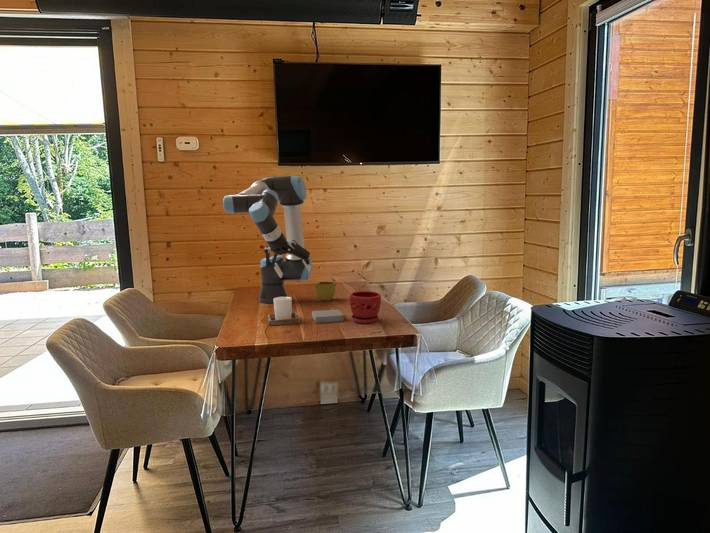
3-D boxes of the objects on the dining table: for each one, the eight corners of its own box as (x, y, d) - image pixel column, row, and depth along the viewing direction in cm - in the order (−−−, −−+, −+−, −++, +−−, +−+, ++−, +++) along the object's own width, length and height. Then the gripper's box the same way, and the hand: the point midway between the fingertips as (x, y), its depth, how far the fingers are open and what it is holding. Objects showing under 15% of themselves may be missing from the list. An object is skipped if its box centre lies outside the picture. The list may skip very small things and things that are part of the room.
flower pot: (315, 301, 249) (315, 284, 248) (320, 297, 257) (320, 281, 256) (331, 301, 247) (331, 284, 246) (336, 298, 255) (336, 281, 254)
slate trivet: (312, 316, 215) (312, 311, 214) (338, 314, 217) (338, 309, 217) (315, 323, 203) (315, 317, 203) (343, 321, 206) (343, 315, 205)
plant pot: (348, 324, 199) (347, 296, 197) (352, 317, 212) (352, 290, 210) (379, 325, 197) (379, 296, 196) (382, 317, 210) (381, 290, 209)
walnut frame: (267, 318, 213) (267, 314, 213) (297, 316, 216) (296, 312, 215) (268, 325, 200) (268, 321, 200) (300, 323, 203) (299, 318, 203)
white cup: (295, 319, 211) (294, 296, 210) (288, 323, 203) (287, 300, 202) (278, 318, 213) (277, 296, 212) (271, 322, 205) (270, 299, 204)
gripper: (244, 248, 197) (268, 284, 210) (299, 235, 190) (320, 272, 203) (249, 237, 203) (271, 272, 216) (302, 223, 196) (322, 260, 209)
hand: (295, 272), depth 209 cm, fingers open, 13 cm apart
